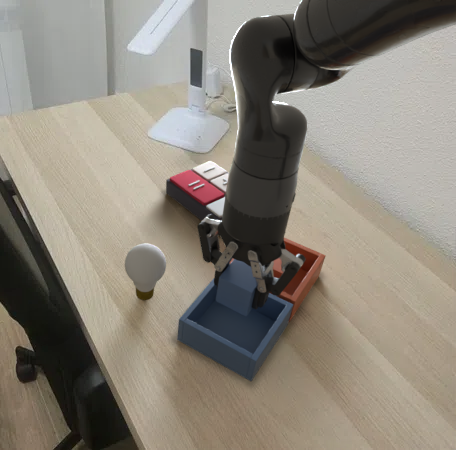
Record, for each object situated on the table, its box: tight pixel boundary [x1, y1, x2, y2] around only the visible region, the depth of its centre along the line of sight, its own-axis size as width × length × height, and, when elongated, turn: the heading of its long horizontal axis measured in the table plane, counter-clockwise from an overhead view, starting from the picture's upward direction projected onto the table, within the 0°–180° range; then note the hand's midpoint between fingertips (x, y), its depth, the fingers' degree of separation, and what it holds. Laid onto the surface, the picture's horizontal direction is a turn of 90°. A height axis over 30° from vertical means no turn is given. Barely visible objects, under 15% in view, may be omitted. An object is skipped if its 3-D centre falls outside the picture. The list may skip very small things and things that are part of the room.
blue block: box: [216, 259, 257, 316], centre depth 72 cm, size 5×5×5 cm
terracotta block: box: [273, 258, 283, 278], centre depth 84 cm, size 5×5×5 cm
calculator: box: [165, 160, 229, 237], centre depth 99 cm, size 11×4×15 cm
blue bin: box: [176, 277, 293, 382], centre depth 77 cm, size 12×12×4 cm
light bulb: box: [124, 242, 167, 301], centre depth 80 cm, size 6×6×10 cm
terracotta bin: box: [229, 237, 327, 323], centre depth 85 cm, size 12×12×4 cm
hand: (239, 295), depth 73 cm, fingers closed on blue block, 4 cm apart
